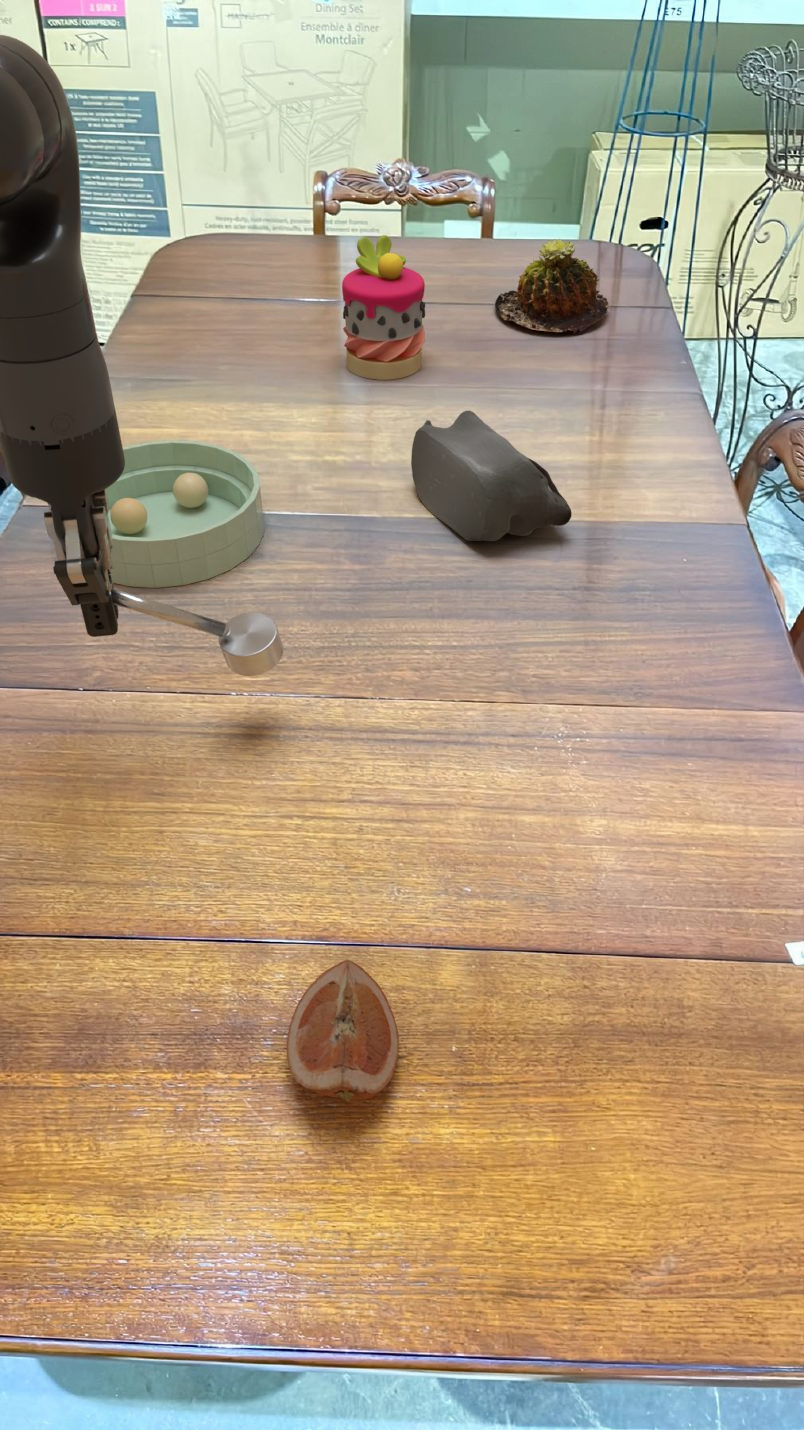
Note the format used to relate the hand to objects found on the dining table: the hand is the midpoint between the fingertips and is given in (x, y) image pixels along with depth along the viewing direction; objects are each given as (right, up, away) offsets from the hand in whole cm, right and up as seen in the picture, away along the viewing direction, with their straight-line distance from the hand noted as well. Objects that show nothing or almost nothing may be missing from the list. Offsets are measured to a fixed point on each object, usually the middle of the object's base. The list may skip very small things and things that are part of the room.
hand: (103, 626), depth 80 cm
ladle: (+6, -2, +5) cm, 8 cm away
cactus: (+43, +51, +74) cm, 99 cm away
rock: (+31, +15, +34) cm, 49 cm away
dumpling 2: (+1, +16, +30) cm, 34 cm away
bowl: (-1, +11, +29) cm, 31 cm away
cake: (+20, +39, +61) cm, 75 cm away
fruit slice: (+19, -28, -14) cm, 37 cm away
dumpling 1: (-3, +13, +27) cm, 30 cm away
